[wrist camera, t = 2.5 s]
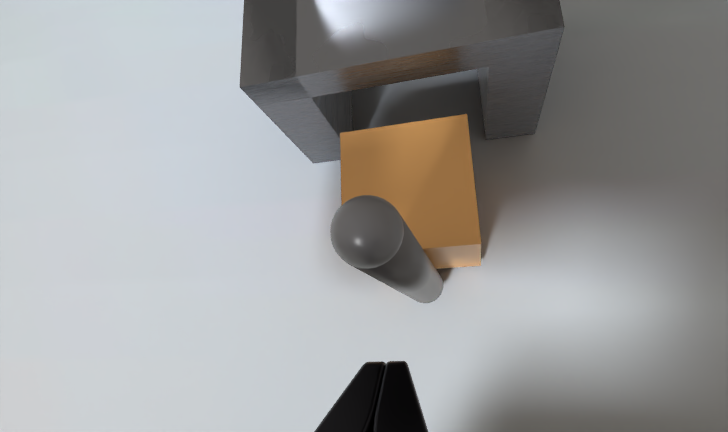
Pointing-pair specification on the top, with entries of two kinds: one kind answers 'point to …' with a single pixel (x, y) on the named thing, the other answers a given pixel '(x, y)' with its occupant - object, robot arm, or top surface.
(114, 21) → the top surface
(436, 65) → the housing
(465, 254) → the plug
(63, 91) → the top surface
